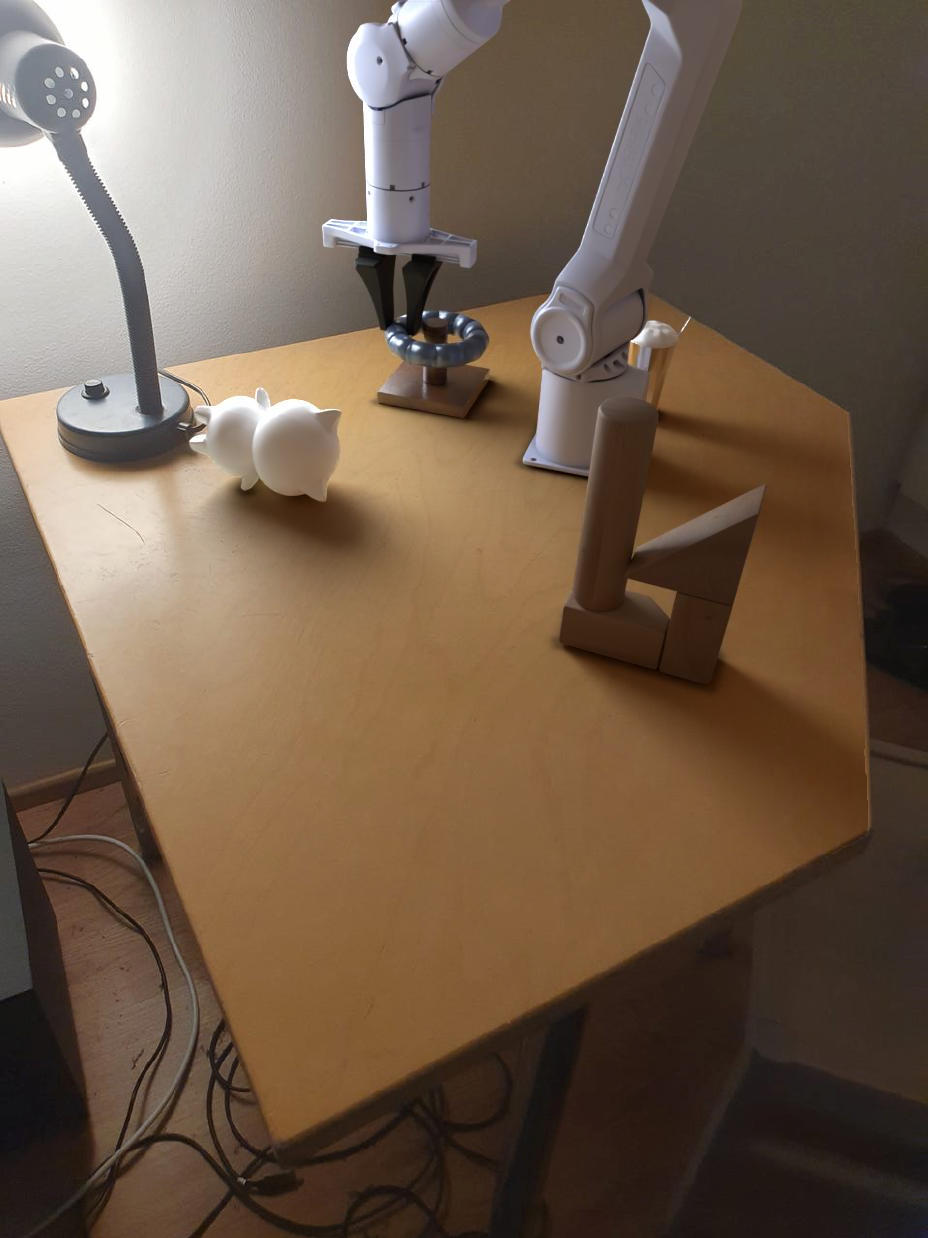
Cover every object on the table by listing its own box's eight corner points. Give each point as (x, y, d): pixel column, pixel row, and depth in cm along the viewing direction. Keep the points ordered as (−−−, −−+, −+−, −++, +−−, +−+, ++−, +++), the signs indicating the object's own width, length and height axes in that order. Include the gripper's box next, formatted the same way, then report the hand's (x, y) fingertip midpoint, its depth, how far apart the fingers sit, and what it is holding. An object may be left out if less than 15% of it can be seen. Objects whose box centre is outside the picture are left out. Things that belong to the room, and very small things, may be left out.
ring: (498, 337, 93) (500, 316, 91) (471, 379, 85) (472, 356, 84) (405, 321, 95) (405, 300, 93) (371, 361, 87) (370, 339, 86)
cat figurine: (191, 371, 74) (322, 396, 70) (260, 390, 84) (377, 413, 80) (175, 478, 75) (303, 508, 72) (244, 484, 85) (359, 511, 82)
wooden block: (708, 688, 62) (777, 455, 50) (556, 645, 64) (588, 415, 53) (717, 654, 64) (785, 425, 53) (571, 614, 67) (604, 388, 55)
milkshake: (674, 425, 89) (694, 326, 83) (619, 423, 89) (635, 324, 83) (667, 403, 93) (686, 306, 86) (614, 401, 93) (629, 304, 86)
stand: (489, 379, 95) (493, 312, 91) (463, 418, 89) (466, 348, 84) (408, 365, 97) (408, 298, 92) (377, 402, 91) (375, 333, 86)
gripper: (304, 183, 80) (315, 332, 88) (462, 204, 77) (457, 357, 85) (336, 163, 85) (344, 306, 94) (486, 182, 82) (479, 328, 91)
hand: (400, 328), depth 90 cm, fingers closed on ring, 2 cm apart
